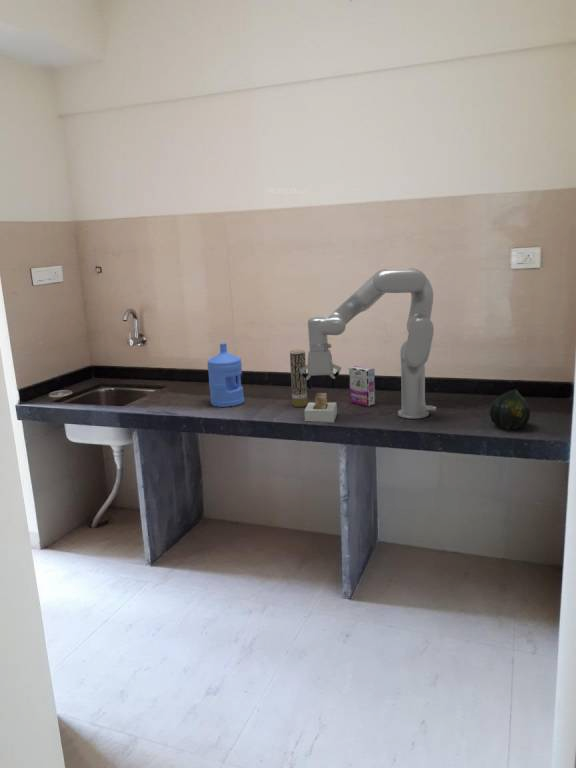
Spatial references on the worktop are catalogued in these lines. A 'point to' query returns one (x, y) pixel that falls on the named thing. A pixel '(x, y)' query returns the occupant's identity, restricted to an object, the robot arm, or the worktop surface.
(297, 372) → the paper tube
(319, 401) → the maple key peg
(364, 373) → the candy bar box
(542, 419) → the worktop surface
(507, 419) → the squash
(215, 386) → the water jug
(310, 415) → the sage socket block
